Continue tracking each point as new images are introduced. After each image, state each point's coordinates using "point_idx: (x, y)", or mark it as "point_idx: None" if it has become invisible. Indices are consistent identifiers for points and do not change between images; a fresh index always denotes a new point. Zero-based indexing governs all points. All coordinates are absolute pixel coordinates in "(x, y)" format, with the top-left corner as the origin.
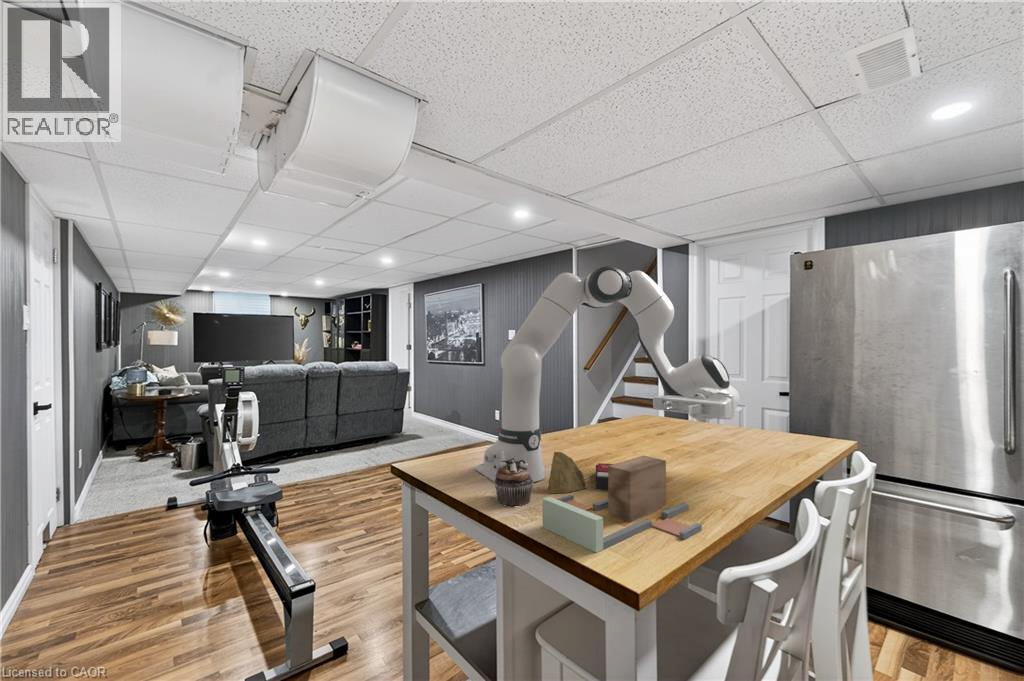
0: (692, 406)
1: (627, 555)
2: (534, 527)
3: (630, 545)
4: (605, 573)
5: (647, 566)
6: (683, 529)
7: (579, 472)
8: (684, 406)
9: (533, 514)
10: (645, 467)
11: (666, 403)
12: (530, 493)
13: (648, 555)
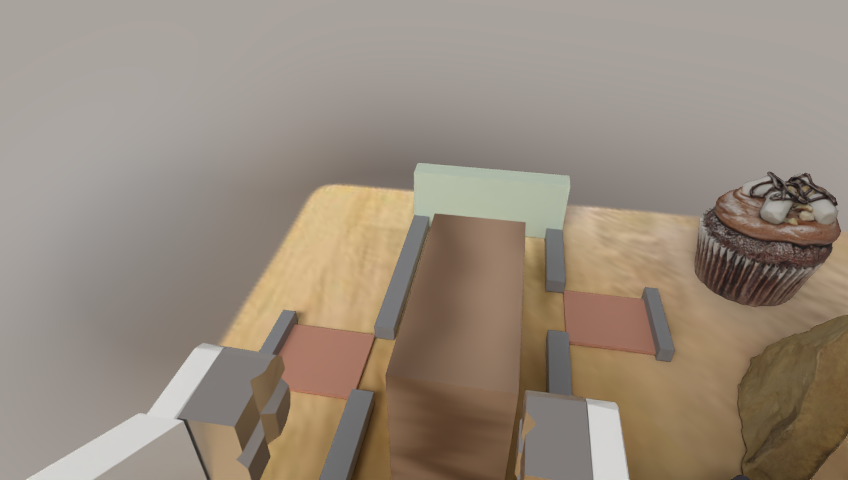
0: (148, 418)
1: (370, 230)
2: (569, 222)
3: (380, 254)
4: (376, 190)
5: (328, 223)
6: (293, 356)
7: (792, 421)
8: (266, 355)
9: (629, 253)
10: (419, 266)
11: (587, 433)
12: (716, 271)
13: (337, 245)
